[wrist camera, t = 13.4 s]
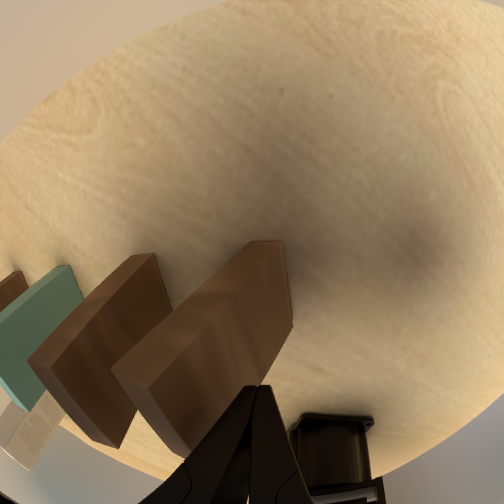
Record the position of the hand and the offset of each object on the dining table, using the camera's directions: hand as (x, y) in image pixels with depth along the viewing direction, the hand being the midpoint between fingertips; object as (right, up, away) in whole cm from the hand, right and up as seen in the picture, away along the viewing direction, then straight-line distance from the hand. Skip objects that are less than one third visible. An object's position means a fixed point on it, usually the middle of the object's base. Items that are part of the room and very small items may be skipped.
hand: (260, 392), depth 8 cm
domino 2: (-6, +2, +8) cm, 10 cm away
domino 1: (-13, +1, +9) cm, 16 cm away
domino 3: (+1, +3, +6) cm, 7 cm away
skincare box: (-28, -15, +18) cm, 37 cm away
